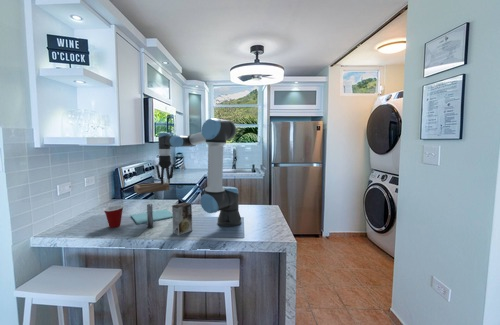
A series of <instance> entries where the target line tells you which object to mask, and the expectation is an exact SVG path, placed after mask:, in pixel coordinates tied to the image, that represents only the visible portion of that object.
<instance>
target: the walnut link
mask: <svg viewBox="0 0 500 325" xmlns="http://www.w3.org/2000/svg"><path fill="white" fill-rule="evenodd" d="M133 188H134V189H133V190H134V192H135V193H136V194H137V195H141V194H148V193H157V192H163V191H164V192H165V191H170V184H167V183H166V182H165V184H161V182H151V183H143V184H134V186H133Z"/></svg>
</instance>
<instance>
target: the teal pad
mask: <svg viewBox="0 0 500 325" xmlns="http://www.w3.org/2000/svg"><path fill="white" fill-rule="evenodd" d="M130 217H131V218H132V219H133V221H134V222H135V223H136V225H143V224H148V221H147V211H146V212H139V213H134V214H130ZM169 219H173V213H172V212H171V211H170V210H168V209H166V208H163V209H158V210H153V222H157V221H158V222H159V221H163V220H169Z"/></svg>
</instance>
